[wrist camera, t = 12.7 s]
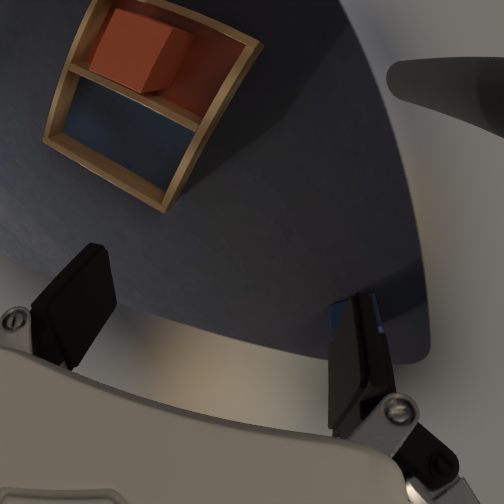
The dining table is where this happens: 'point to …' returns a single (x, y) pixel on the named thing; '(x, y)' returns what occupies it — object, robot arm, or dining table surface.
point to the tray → (147, 103)
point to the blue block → (338, 310)
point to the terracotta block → (141, 51)
